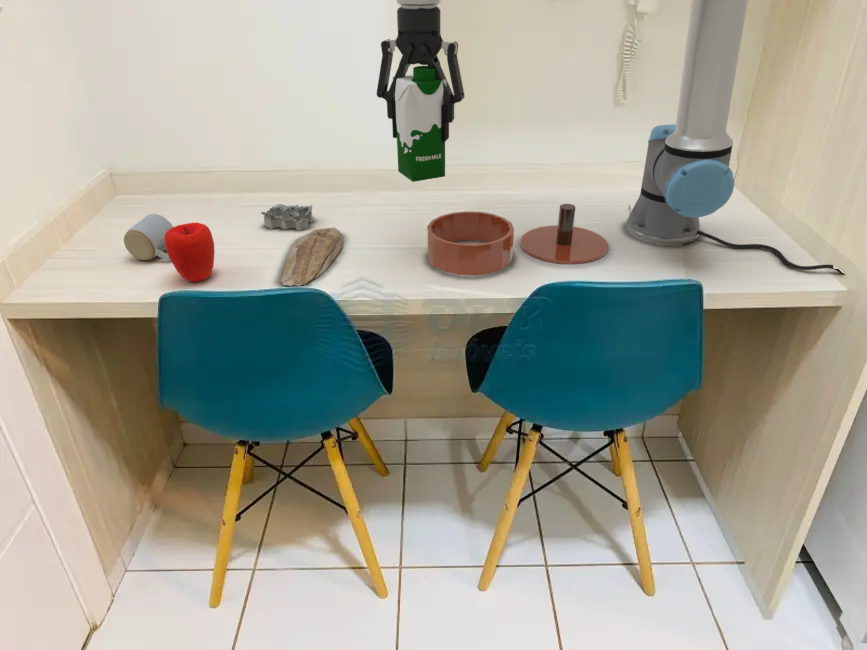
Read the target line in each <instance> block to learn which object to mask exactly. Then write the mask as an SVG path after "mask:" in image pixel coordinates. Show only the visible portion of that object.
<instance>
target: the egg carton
mask: <svg viewBox="0 0 867 650" xmlns="http://www.w3.org/2000/svg"><path fill="white" fill-rule="evenodd" d="M260 213H261V215H262V216H263V222H264V226H265V227H266V228H268V229H270V230H272V229H275V228H281V229H282V230H289V229H296V231H301V230H305V229H308V227H309V223H312V222H313V221H314V220H313V204H311V205H305V206H304V205H301V206H299V204H296V205H291V204H290V205H286V204H282V203H278V204H275V205H273V206H272V207H269V209H267V211H261V212H260Z"/></svg>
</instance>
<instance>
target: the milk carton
mask: <svg viewBox="0 0 867 650" xmlns="http://www.w3.org/2000/svg"><path fill="white" fill-rule="evenodd" d="M394 77H395V76H392V80H393V79H394ZM435 79H436V68H434V69H429V68H428V65H418V66H414V67H413V68H412V74H406V75H405V77H403V78H398V79H397V80H396V87H395V103H396V128H397V138H396V147H397V149H396V150H397V151H396V153H397V166H398V167H397V172H399V173H400V174H401V175H403V176H404V177H405V178H406V179H408V180H409V181H411V182H412V183H415V182H421V181H426V180H432V179H438V178H444V177H446V141H445V142H442V141H441V106H442V105H444V104H445V101H444V99H443V82H444V84H445V86H447V82H448V79H447V78H446V79H447V80H446V79H444V80H443V82H442V81H441V80H435Z"/></svg>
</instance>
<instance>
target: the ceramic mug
mask: <svg viewBox="0 0 867 650" xmlns="http://www.w3.org/2000/svg"><path fill="white" fill-rule="evenodd" d="M173 227H174V226H173V224H172V223H171V221H169V220H168V219H167V218H166V217H164V216H163V215H160V214H157V213H150V214H147V215H146V216H144V217H143V218H142V219H141V220H140V221H138V222H137V223H135V224H134V225H133V226H132V227H130V228H129V229H128V230H127V231H126V233H125V234H124V236H123V244H124V247H125V249H126V250H127V251H128V253H129V254H130V255H131V256H132V257H134V258H135V259H137V260H140V261H149V260H152V259H154V258H156V257H159V258H161V259H164V260H170V258H169V256H168V253H167V252H165V251H167V250H166V247H165V234H166V232H167V231H168V230H169V229H171V228H173Z"/></svg>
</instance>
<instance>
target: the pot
mask: <svg viewBox="0 0 867 650" xmlns="http://www.w3.org/2000/svg"><path fill="white" fill-rule="evenodd" d="M426 232H427V233H426V234H427V235H426V237H427V238H426V239H427V261H428V263H429V265H430V266H431V267H434V268H437V269H438V270H441V271H442V272H446V273H449V274H455V275H460V276H461V275H462V276H479V275H488V274H492V273H495V272H499V271H501V270H503V269H505V268H506V267H508V265H510V264H511V261H512V260H513V254H514V239H515V238H514V236H515V228H514V226H513V223H512V222H511V221H510V220H508V219H507V218H505V217H503V216H500V215H498V214H495V213H490V212H484V211H474V210H473V211H470V210H469V211H468V210H464V211H457V212H450V213H445V214H443V215H440V216H437V217H436V218H434V219H432V220H431V221H430V222H429V223H428V225H427V226H426ZM459 241H482V243H459Z"/></svg>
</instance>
